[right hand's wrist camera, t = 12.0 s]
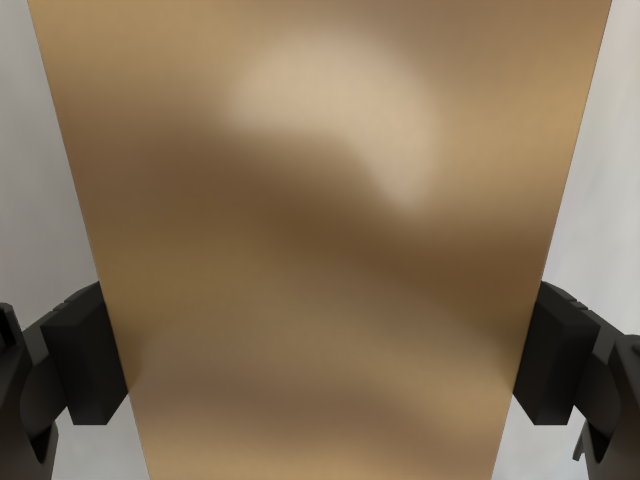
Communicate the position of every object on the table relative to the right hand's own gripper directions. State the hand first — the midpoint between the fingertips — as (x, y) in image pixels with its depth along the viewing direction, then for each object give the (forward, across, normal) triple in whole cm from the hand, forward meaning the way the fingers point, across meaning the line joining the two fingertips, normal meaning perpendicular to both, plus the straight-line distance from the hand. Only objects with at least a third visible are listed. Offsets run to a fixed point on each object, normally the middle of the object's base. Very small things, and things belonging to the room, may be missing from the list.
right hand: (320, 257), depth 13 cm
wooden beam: (+1, 0, -30) cm, 30 cm away
